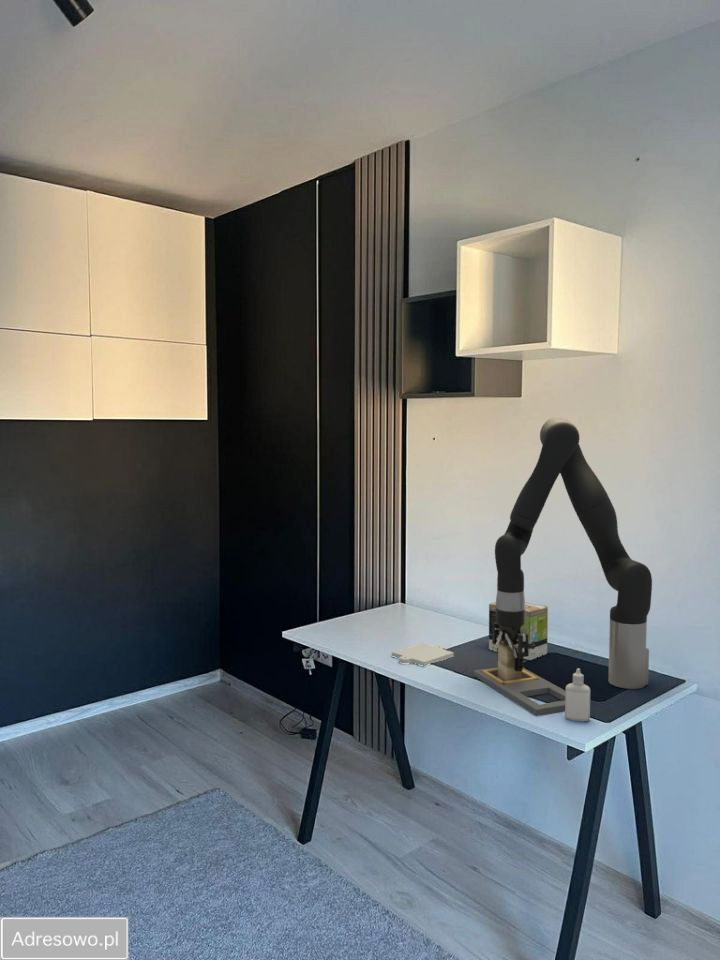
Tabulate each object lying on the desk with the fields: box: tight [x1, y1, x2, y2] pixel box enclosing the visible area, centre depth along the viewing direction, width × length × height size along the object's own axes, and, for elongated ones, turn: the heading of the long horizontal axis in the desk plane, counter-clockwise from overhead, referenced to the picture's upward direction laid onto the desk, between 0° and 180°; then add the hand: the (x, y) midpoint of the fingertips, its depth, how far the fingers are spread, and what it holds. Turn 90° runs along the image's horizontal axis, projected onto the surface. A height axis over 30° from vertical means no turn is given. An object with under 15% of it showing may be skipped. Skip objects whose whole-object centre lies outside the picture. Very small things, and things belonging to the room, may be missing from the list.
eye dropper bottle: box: [564, 668, 591, 723], centre depth 175 cm, size 4×6×12 cm
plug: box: [497, 643, 522, 681], centre depth 200 cm, size 4×4×10 cm
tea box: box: [488, 601, 549, 661], centre depth 226 cm, size 15×10×15 cm
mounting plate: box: [391, 642, 455, 666], centre depth 222 cm, size 18×13×2 cm
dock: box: [473, 666, 566, 716], centre depth 193 cm, size 14×30×2 cm, turn 21°
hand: (509, 666), depth 201 cm, fingers open, 8 cm apart
